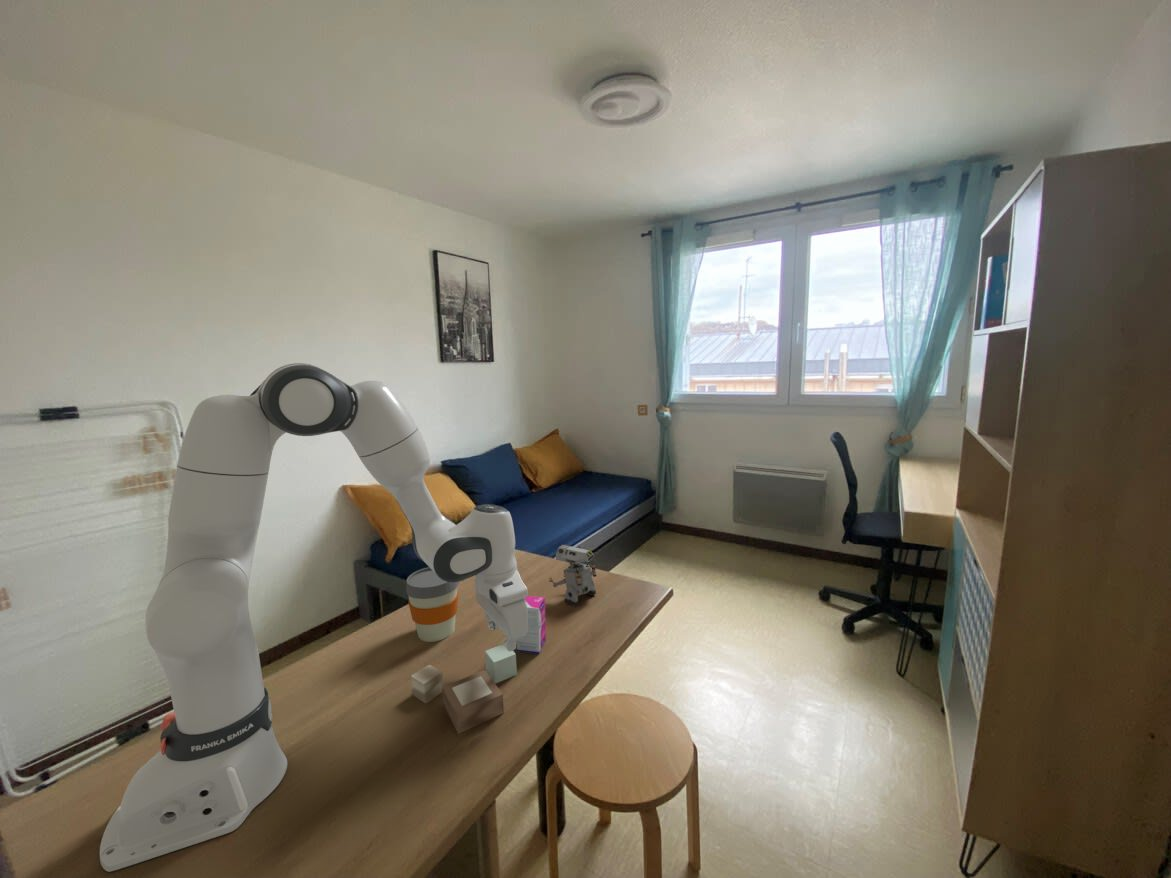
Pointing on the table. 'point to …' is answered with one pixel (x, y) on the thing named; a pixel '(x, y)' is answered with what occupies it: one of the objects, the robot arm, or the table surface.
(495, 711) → the walnut base
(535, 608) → the supplement box
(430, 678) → the block
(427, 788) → the table surface
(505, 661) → the sage block
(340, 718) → the table surface
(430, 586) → the reusable coffee cup
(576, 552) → the figurine
